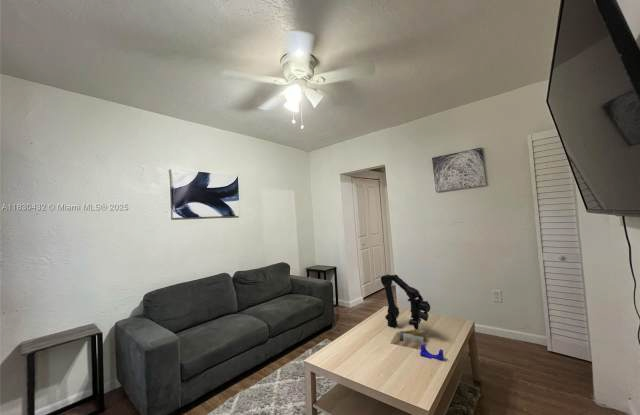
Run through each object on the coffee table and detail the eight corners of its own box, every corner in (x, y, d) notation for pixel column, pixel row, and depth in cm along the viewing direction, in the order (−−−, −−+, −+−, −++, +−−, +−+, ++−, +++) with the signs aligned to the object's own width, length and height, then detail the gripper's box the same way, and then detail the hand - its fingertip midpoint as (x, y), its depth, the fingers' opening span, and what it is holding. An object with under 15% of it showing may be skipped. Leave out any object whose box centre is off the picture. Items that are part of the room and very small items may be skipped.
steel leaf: (399, 340, 173) (399, 331, 174) (400, 339, 175) (399, 330, 175) (423, 345, 165) (422, 336, 166) (423, 344, 167) (423, 334, 167)
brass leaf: (402, 339, 175) (402, 331, 175) (402, 338, 176) (401, 331, 176) (420, 336, 177) (419, 329, 177) (419, 335, 178) (418, 328, 178)
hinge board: (390, 344, 171) (389, 343, 171) (397, 333, 186) (397, 332, 186) (424, 351, 159) (424, 350, 159) (429, 338, 175) (429, 337, 175)
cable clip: (420, 357, 154) (419, 347, 154) (423, 354, 157) (422, 344, 158) (441, 363, 146) (440, 353, 146) (443, 360, 150) (443, 349, 150)
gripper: (425, 314, 168) (427, 338, 167) (429, 305, 184) (431, 327, 183) (407, 312, 174) (409, 335, 173) (413, 303, 190) (415, 324, 189)
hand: (417, 330), depth 179 cm, fingers closed
